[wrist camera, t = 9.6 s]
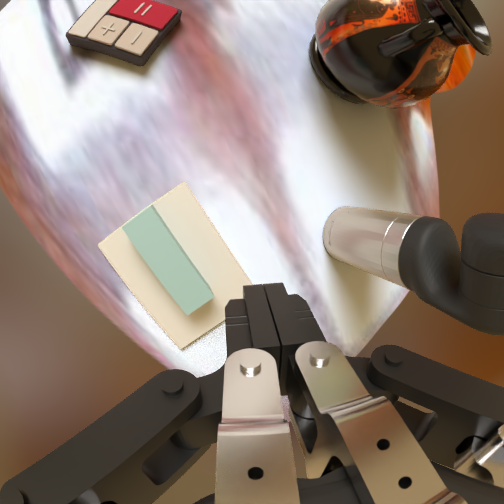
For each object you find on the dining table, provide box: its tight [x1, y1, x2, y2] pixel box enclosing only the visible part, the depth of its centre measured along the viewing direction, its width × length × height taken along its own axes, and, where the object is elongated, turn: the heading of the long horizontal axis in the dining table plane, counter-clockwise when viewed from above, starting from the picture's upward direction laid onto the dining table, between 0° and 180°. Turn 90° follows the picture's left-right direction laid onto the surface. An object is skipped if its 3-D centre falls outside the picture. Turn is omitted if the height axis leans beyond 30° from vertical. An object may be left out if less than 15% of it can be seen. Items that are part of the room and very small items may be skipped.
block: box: [122, 205, 214, 316], centre depth 35 cm, size 4×4×14 cm
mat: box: [98, 181, 253, 349], centre depth 38 cm, size 20×15×1 cm
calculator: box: [66, 0, 182, 66], centre depth 27 cm, size 11×4×15 cm
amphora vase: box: [309, 0, 492, 109], centre depth 26 cm, size 22×22×28 cm
